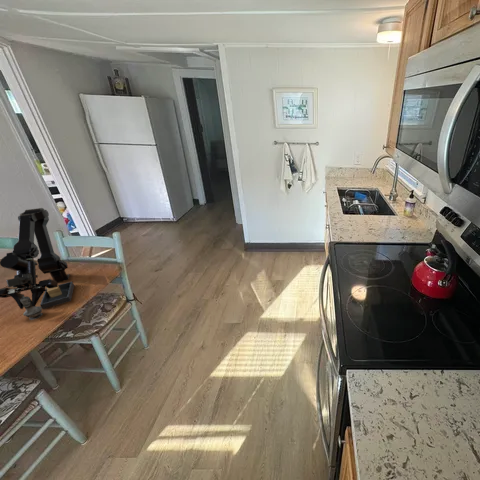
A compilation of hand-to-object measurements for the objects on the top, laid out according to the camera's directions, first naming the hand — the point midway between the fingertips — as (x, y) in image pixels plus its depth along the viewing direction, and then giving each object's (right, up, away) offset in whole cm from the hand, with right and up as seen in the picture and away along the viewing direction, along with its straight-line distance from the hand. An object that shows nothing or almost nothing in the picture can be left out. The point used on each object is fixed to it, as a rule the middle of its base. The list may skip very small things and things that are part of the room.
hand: (27, 307), depth 114 cm
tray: (-2, +1, +16) cm, 16 cm away
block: (-5, +2, +17) cm, 18 cm away
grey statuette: (-1, -5, +4) cm, 7 cm away
